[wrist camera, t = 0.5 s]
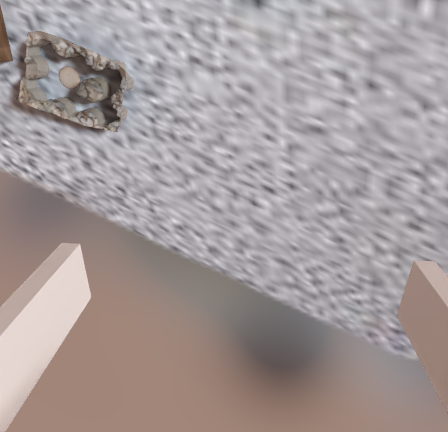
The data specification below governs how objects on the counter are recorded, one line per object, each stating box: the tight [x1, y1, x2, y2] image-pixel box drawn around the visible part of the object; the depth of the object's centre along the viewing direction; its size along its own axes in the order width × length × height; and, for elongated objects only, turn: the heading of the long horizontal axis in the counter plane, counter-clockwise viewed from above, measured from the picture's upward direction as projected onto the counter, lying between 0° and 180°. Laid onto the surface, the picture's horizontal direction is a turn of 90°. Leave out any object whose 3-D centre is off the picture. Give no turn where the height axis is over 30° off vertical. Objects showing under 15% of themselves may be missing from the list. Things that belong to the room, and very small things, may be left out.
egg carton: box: [17, 31, 134, 132], centre depth 35 cm, size 11×8×4 cm
